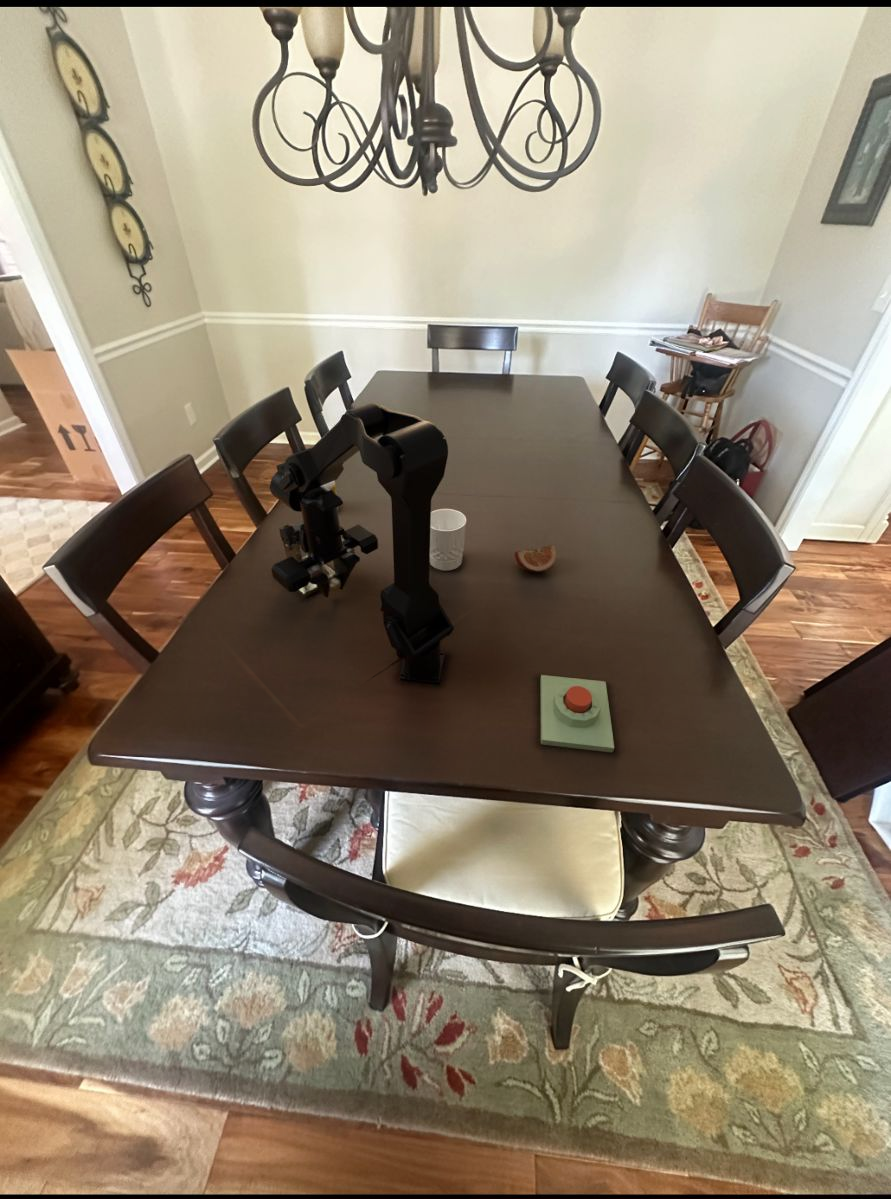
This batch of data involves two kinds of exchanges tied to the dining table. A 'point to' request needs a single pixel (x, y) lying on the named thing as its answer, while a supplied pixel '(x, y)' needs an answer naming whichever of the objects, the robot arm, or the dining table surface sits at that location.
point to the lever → (329, 577)
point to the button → (578, 699)
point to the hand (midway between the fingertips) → (333, 592)
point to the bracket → (296, 554)
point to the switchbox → (575, 715)
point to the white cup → (447, 539)
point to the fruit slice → (536, 558)
